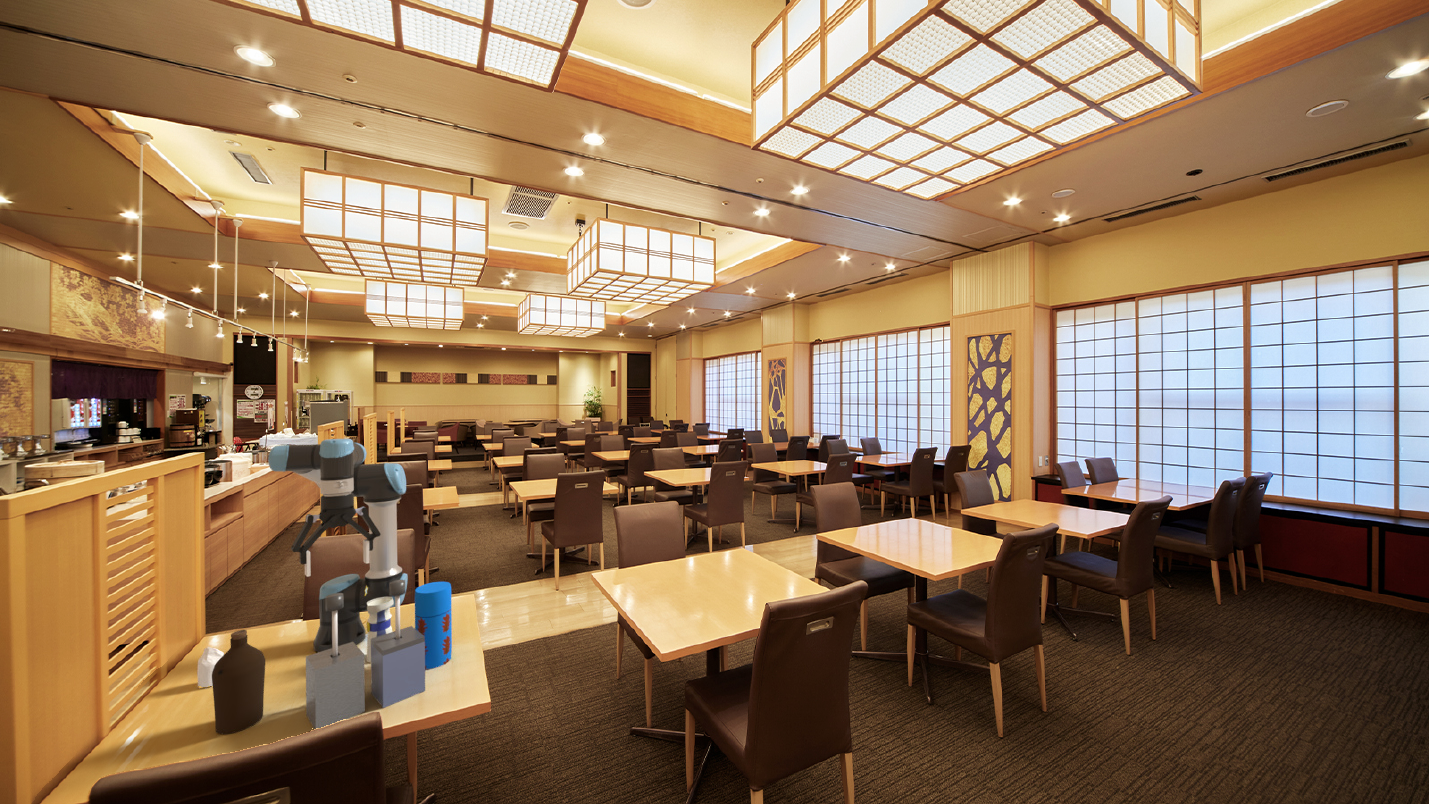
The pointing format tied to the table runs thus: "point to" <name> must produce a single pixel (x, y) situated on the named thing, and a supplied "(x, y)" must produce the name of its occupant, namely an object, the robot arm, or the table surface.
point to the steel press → (334, 685)
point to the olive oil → (238, 686)
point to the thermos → (434, 622)
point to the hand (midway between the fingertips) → (338, 568)
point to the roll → (207, 666)
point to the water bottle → (378, 619)
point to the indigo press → (397, 666)
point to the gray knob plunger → (397, 602)
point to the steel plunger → (334, 617)
